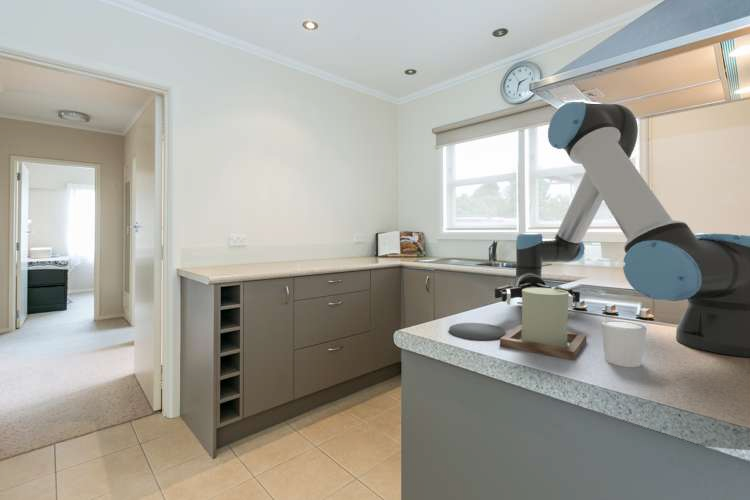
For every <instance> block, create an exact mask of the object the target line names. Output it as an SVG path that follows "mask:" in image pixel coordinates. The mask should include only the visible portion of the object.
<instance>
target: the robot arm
mask: <svg viewBox="0 0 750 500" xmlns="http://www.w3.org/2000/svg"><path fill="white" fill-rule="evenodd" d="M638 132H639V127H638V121H637V118H636V116H635V115H634V113H633V112H632V110H631V109H630V108H628V107H627V106H624V105H622V104H617V103H605V102H604V103H603V102H594V101H585V100H583V99H579V100H569V101H566V102H564V103H563V104H561V105H560V106H559V107H558V108H557V109H556V110H555V111H554V114H553V115H552V117H551V119H550V121H549V125H548V129H547V139H548V143H549V144H550V145H551V146H552V147H553V148H554V149H557V150H564V151H565V152H566V154H567V155H568V157H569V159H570V160H571V161H572V162H573V163H575V164H579V165H581V166H582V167H583V169H584V170H585V172H584V174H583V176H582V178H581V181H580V182H579V185H578V186H577V187H578V188H577V189H576V191H575V194H574V196H573V198H572V200H571V202H570V204H569V206H568V208H567V211H566V213H565V215H564V217H563V219H562V222H561V224H560V226H559V228H558V230H557V232H556V234H555V237H554V238H543V234H542V233H539V232H538V233H537V232H533V233H532V232H530V233H529V232H527V233H525V232H522V233H519V234H517V237H516V243H515V249H516V250H515V251H516V252H515V253H516V255H515V256H516V258H515V259H516V261H515V262H516V265H515V277H514V285H515V286H514V285H512V284H510V283H508V284H506V285H503V286H499V287H495V288H494V298H495V299H500V298H501V302H503V303H506V305H507V306H508V305H511V303H512V302H511V299H512V298H513V299H514V298H521V299H522V289H525V288H552V287H551V285H546V283H545V281H544V279H542V271H543V270H542V268H543V267H542V265H543V263H569V262H570V263H571V262H577V261H579V260H581V259H582V258H583V257H584V255H585V245H584V242H583V239H584V237H585V236H586V233H588V230H589V228H590V226H591V224H592V223H593V220H594V218H595V216H596V215H597V213H598V211H599V208H600V207H601V205H602V203H603V201H604V203H605V205H606V207H607V208H608V210H609V212H610V213H611V215H612V216H613V218H614V219H615V222H616V223H617V224H618V226H619V228H620V230H621V231H622V233H623V235H624V236H625V238H626V239H627V240H626V242H625V244H624V247H623V250H624V252H625V255H624V257H623V263H624V265H623V268H622V269H623V274H624V277H625V279H626V281H627V282H628V284H629V285H630V286H631V287H632V288H633V289H634V290H635V291H636V292H638V294H640V295H642V296H644V297H646V298H649V299H652V300H655V301H656V300H657V301H667V302H669V301H670V302H677V301H679V302H680V301H685V300H687V306H686V309H685V310H684V312H683V314H682V317H681V319H680V321H679V323H678V325H677V327H676V330H675V331H676V332H675V334H676V335H675V339H676V341H678V342H679V343H681V344H682V345H685V346H688V347H691V348H694V349H698V350H702V351H706V352H711V353H716V354H721V355H727V356H728V355H729V356H733V357H734V356H736V357H744V358H750V235H747V234H746V235H745V234H732V233H715V232H714V233H711V232H708V233H707V232H706V233H705V232H704V233H703V232H702V233H694V232H693V231H692V229H691V228H690V227H689V226H688V224H687V223H686V222H685V221H681V220H673V219H672V217H671V215H669V213H668V212H667V210H666V209H665V207H664V206H663V204H662V203H661V201H660V200H659V199H658V198H657V196H656V195H655V193H654V192H653V190H652V189H651V188H650V186H649V185H648V183H647V182H646V180H645V179H644V178H643V176H642V175H641V173H640V172H639V170H638V169H637V168H636V166H635V165H634V164H633V162H632V160H631V159H630V158H631V156H632V154H633V152H634V150H635V147H636V144H637V140H638ZM553 289H560V290H565V291H567V292H569V295H568V309H573V308H574V306H573V305H574V304H575V303H581V302H580V300H581V292H580V291H576V290H573V288H569V289H568V288H564V287H561V286H559V285H556V286H554V287H553Z"/></svg>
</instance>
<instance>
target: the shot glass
mask: <svg viewBox="0 0 750 500" xmlns="http://www.w3.org/2000/svg"><path fill="white" fill-rule="evenodd" d="M601 328H602V340H603V341H602V342H603V353H604V354H603V355H604V356H603V357H604V360H605V362H607V363H610V364H612V365H616V366H620V367H625V368H638V367H641V366H642V360H643V355H644V347H645V342H646V341H645V340H646V335H647V328H648V327H647V326H645V325H643V324H640V323H636V322H631V321H624V320H623V321H622V320H604V321H602V322H601Z"/></svg>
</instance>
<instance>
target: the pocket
mask: <svg viewBox="0 0 750 500" xmlns="http://www.w3.org/2000/svg"><path fill="white" fill-rule="evenodd" d="M521 335H522V324H519V325H518V326H516V327H514V328H513V329H512V330H510V331H509V332H507V333H506V335H504V336H503V337H501V338H500V339H499V346H500V347H504V348H509V349H514V350H520V351H524V352H529V353H535V354H540V355H545V356H549V357H550V356H552V357H556V358H561V359H566V360H570V361H571V360H572V361H575V359H576V358H577V357H578V355H579V353H580V352H581V350H582V349H583V347H584V346H585V344H586V343H587V334H583V333H579V332H571V331H567V342H570V343H569V345H568V347H567V348H563V347H558V346H552V345H546V344H541V343H535V342H529V341H523V340H521Z"/></svg>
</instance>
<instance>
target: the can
mask: <svg viewBox="0 0 750 500" xmlns="http://www.w3.org/2000/svg"><path fill="white" fill-rule="evenodd" d="M568 295H569V292H567V291H565V290H560V289H554V287H553V288H552V287H551V288H525V289H522V298H521V300H522V301H521V325H522V335H521V337H520V340H523V341H529V342H535V343H541V344H546V345H552V346H558V347H563V348H567V347H568V346H569V345H568V341H567V332H568V320H569V319H568V318H569V317H568V316H569V315H568V313H569V311H568V310H569V307H568Z"/></svg>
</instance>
